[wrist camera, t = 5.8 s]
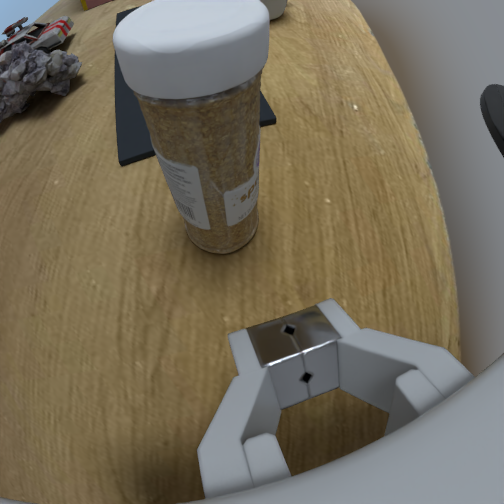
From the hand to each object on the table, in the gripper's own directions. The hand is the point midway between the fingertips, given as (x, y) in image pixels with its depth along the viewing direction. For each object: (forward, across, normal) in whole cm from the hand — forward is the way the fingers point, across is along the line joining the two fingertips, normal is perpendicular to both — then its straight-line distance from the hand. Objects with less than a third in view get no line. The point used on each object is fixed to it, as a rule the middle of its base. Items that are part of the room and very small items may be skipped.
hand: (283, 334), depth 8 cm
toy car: (+38, +22, -26) cm, 50 cm away
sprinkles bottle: (+12, 0, 0) cm, 12 cm away
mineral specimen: (+27, +16, -15) cm, 35 cm away
